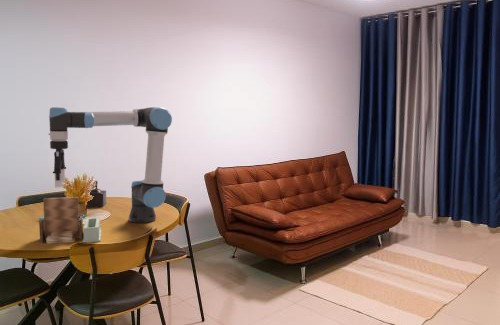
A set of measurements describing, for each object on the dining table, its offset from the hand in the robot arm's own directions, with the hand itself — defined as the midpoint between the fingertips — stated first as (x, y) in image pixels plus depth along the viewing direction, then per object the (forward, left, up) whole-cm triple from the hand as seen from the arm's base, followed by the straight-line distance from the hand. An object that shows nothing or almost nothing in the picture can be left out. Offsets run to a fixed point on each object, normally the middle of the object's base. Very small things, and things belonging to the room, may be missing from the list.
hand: (60, 184), depth 190 cm
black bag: (-13, -68, -27) cm, 74 cm away
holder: (-14, 0, -26) cm, 30 cm away
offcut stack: (0, +4, -27) cm, 27 cm away
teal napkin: (+5, -41, -27) cm, 49 cm away
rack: (0, 0, -26) cm, 26 cm away
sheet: (0, 0, -26) cm, 26 cm away
